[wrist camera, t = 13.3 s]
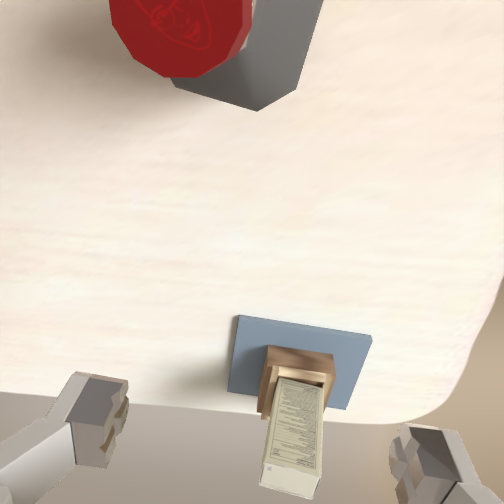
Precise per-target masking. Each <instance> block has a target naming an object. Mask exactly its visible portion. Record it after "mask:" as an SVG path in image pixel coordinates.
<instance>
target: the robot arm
mask: <svg viewBox="0 0 504 504" xmlns="http://www.w3.org/2000/svg"><path fill="white" fill-rule="evenodd" d="M127 391H128V381H127V380H123V379H117V378H112V377H107V376H101V375H96V374H89V373H83V372H77V371H76V372H75V373H74V374H73V375H71V377H70V378H69V380H68V382H67V383H66V385H65V387H64V388H63V390H62V391H61V393H60V395H59V396H58V398H57V399H56V401H55V403H54V405H53V406H52V408H51V409H50V411H49V412H48V414H47V416H46V417H45V418H44V419H43V418H38V419H37V420H35V421H34V422H32V423H31V424H29V425H28V426H26V427H24V428H23V429H21V430H20V431H18V432H16V433H15V434H13V435H12V436H10V437H8V438H7V439H5V440H4V441H2V442H0V504H35V503H36V502H37V501H38V500H39V499H40V498H42V497H43V496H44V495H45V494H46V493H47V492H48V491H49V490H50V489H52V488H53V487H54V486H55V485H56V484H57V483H58V482H59V481H60V480H62V479H63V477H65V476H66V475H67V474H68V473H69V472H70V471H72V470H73V469H74V468H75V467H76V465H84V466H91V467H99V468H107V466H108V464H109V461H110V459H111V456H112V454H113V451H114V449H115V446H116V445H115V444H116V443H115V436H117V435H118V434H119V433H121V431H122V429H123V427H124V424H125V421H126V417H127V413H128V407H129V399H128V398H127V396H126V393H127ZM398 432H399V437H397V438H395V439H394V440H393V441H392V443H391V446H390V450H389V465H390V469H391V473H392V475H393V476H394V477H395V478H396V479H397V481H398V485H397V486H396V489H395V490H396V494H397V498H398V502H399V504H504V503H503V502H502V501H501V500H500V499H499V498H498V497H497V496H496V495H495V494H494V493H493V492H492V491H491V490H490V489H489V488H488V487H486V486H482V484H481V482H480V480H479V477H478V475H477V473H476V471H475V468H474V467H473V464H472V462H471V459H470V457H469V455H468V453H467V450H466V448H465V446H464V444H463V441H462V439H461V437H460V435H459V433H458V432H457V431H456V430H450V429H444V428H437V427H433V426H427V425H419V424H411V423H405V422H404V423H403V424H401V425H400V427H399V429H398Z"/></svg>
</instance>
